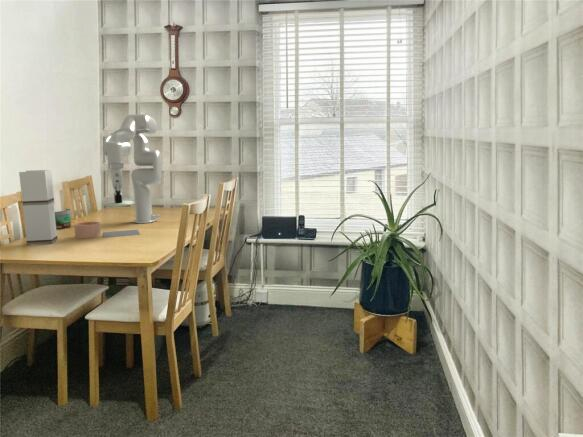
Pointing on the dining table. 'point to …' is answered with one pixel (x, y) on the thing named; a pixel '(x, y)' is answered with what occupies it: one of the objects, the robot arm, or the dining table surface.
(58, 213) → the food container
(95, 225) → the bowl
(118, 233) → the mat
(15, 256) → the dining table surface
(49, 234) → the grey two-tier tower
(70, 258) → the dining table surface
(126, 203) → the lid
